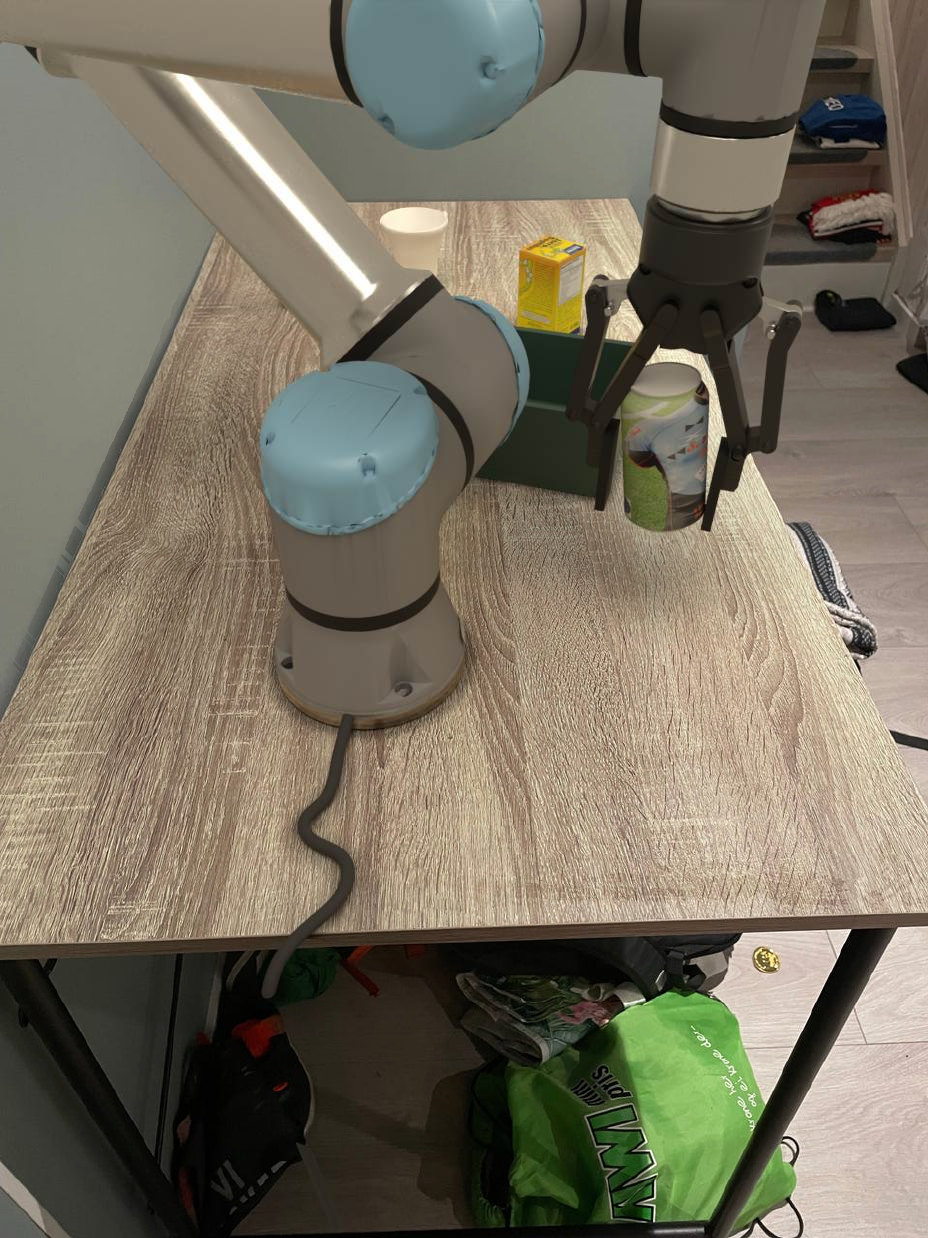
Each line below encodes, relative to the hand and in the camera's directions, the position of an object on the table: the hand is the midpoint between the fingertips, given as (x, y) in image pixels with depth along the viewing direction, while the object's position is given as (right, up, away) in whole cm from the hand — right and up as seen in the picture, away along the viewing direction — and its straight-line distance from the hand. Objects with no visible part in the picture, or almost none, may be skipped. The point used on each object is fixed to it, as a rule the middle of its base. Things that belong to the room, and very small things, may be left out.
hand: (654, 510), depth 70 cm
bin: (-6, +10, +28) cm, 30 cm away
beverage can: (0, -1, +1) cm, 1 cm away
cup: (-21, +36, +56) cm, 70 cm away
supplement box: (-4, +28, +46) cm, 54 cm away
